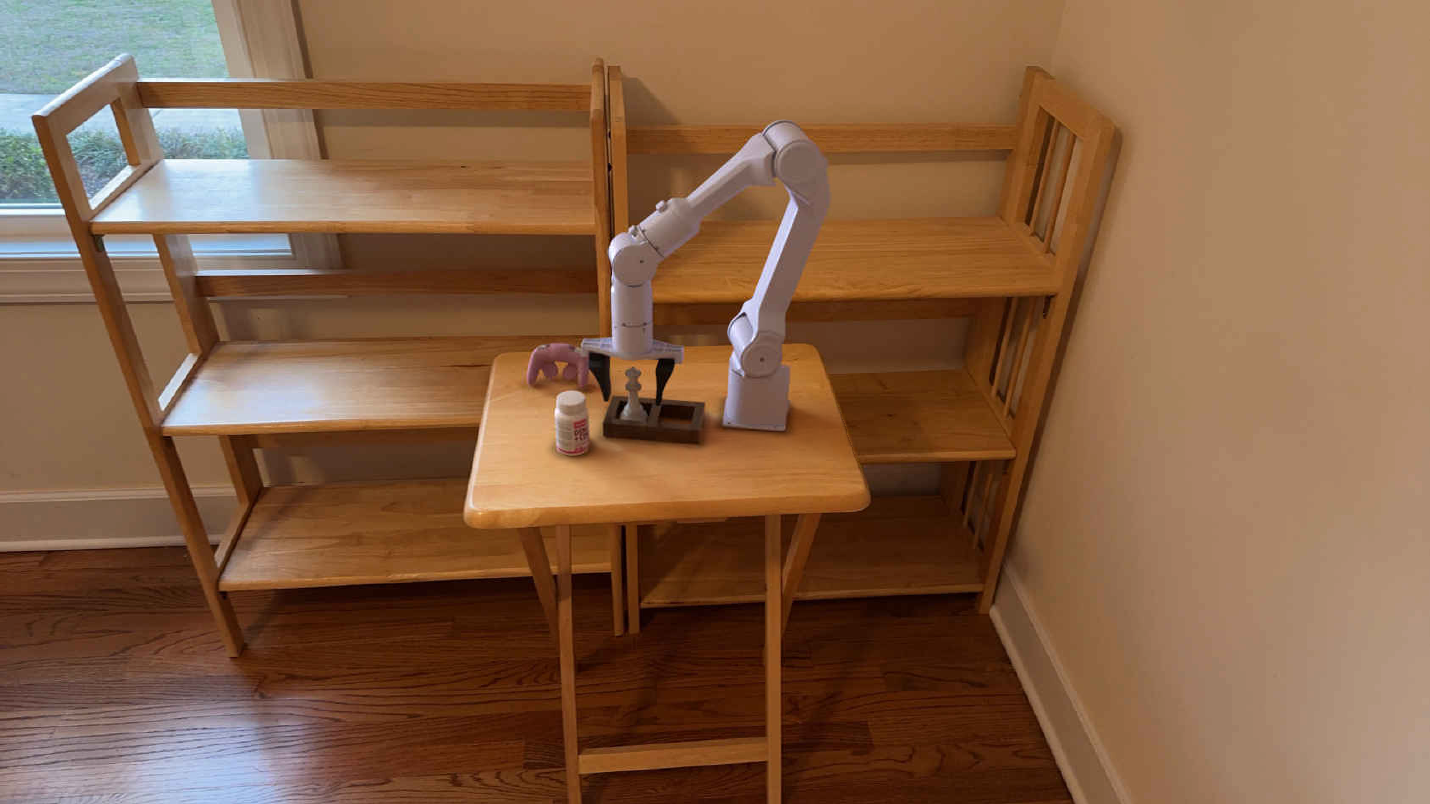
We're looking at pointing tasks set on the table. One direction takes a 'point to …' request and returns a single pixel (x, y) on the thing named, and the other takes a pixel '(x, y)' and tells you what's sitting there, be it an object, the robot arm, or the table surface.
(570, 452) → the pill bottle
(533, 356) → the video game controller
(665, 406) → the stand
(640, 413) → the chess piece
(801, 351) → the table surface
